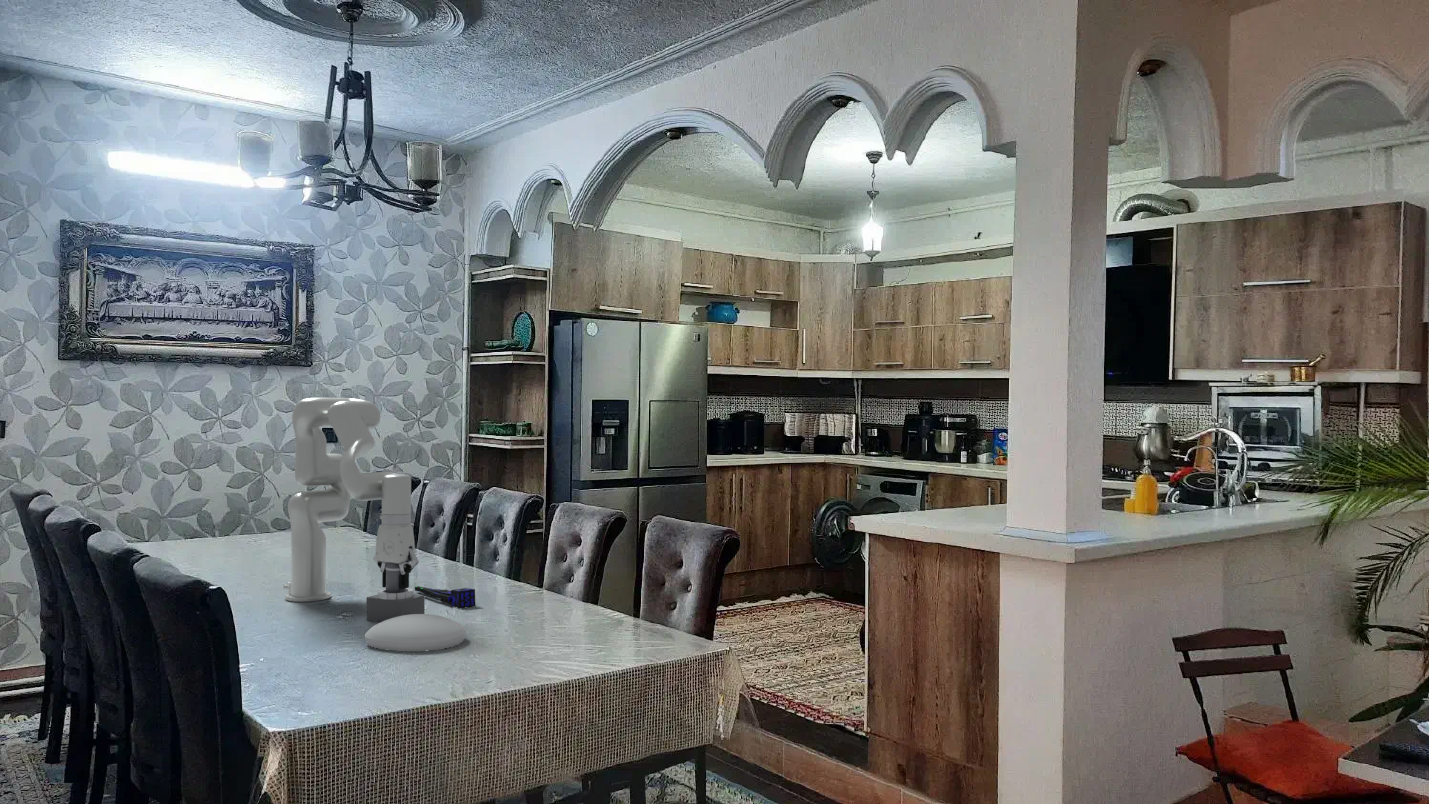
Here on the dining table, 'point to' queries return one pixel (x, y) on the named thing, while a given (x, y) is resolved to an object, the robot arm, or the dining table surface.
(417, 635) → the decorative item
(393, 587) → the lens
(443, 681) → the dining table surface
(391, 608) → the camera body
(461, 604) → the toy
